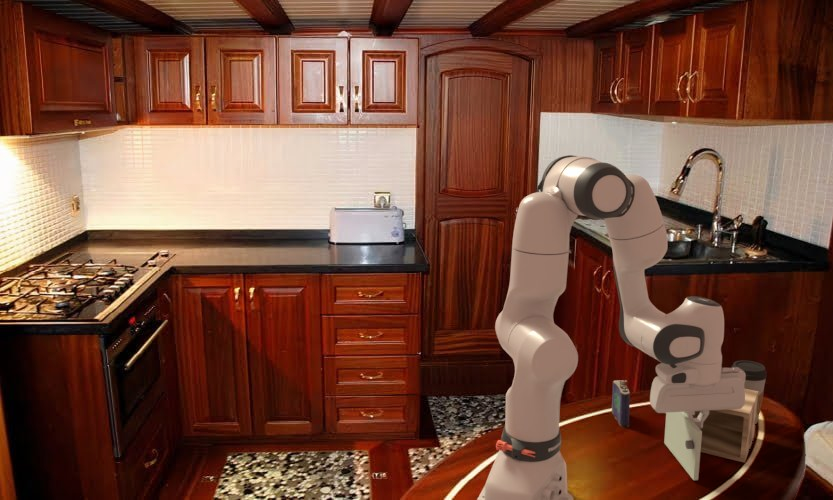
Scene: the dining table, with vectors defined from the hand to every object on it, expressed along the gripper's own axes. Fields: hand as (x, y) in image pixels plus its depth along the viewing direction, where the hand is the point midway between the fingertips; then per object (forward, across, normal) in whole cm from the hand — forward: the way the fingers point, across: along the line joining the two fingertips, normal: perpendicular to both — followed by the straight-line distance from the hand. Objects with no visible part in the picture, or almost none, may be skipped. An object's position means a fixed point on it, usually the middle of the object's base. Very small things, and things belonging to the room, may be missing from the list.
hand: (695, 427), depth 157 cm
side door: (+9, +3, -1) cm, 9 cm away
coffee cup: (+10, -22, -20) cm, 31 cm away
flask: (+10, +9, -24) cm, 27 cm away
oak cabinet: (+10, -9, -11) cm, 17 cm away
